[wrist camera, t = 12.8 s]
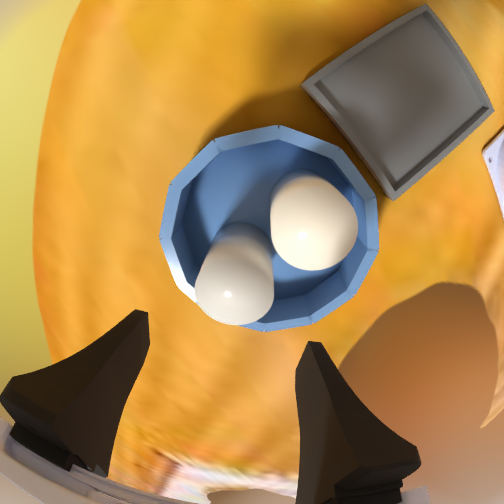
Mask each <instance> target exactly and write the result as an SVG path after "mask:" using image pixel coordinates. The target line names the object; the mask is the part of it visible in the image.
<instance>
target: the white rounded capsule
mask: <svg viewBox="0 0 504 504" xmlns="http://www.w3.org/2000/svg"><path fill="white" fill-rule="evenodd" d="M270 220H271V237H272V242H273V245H274V247H275V249H276V251H277V253H278V254H279V255H280V256H281V258H282V259H283V260H285V261H286V262H287V263H289V264H290V265H292V266H294V267H296V268H299V269H303V270H311V271H312V270H322V269H326V268H329V267H331V266H333V265H335V264H337V263H338V262H340V261H341V260H342V259H344V258H345V257H346V256H347V254H348V253H349V252H350V251H351V249H352V248H353V246H354V244H355V241H356V238H357V234H358V220H357V216H356V213H355V210H354V208H353V207H352V205H351V204H350V202H349V201H348V200H347V199H346V198H345V197H344V196H343V195H342V194H341V193H340V192H339V191H338V190H337V189H336V188H335V187H334V186H333V185H332V184H331V183H330V182H329V181H328V180H327V179H326V178H325V177H323V176H322V175H321V174H319V173H317V172H315V171H313V170H309V169H296V170H292V171H290V172H287V173H286V174H284V175H283V176H281V177H280V178H279V179H278V180H277V181H276V183H275V184H274V186H273V188H272V190H271V194H270Z"/></svg>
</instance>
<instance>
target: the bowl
mask: <svg viewBox="0 0 504 504" xmlns="http://www.w3.org/2000/svg"><path fill="white" fill-rule="evenodd" d="M296 169H309V170H313V171H315V172H317V173H319V174H321V175H322V176H323V177H325V178H326V179H327V180H328V181H329V182H330V183H331V184H332V185H333V186H334V187H335V188H336V189H337V190H338V191H339V192H340V193H341V194H342V195H343V196H344V197H345V198H346V199H347V200H348V201H349V202H350V204H351V205H352V207H353V208H354V210H355V213H356V216H357V220H358V234H357V238H356V241H355V244H354V246H353V248H352V249H351V251H350V252H349V253H348V254H347V256H346V257H345V258H344V259H342V260H341V261H340V262H338V263H337V264H335V265H333V266H331V267H329V268H326V269H322V270H312V271H311V270H303V269H299V268H296V267H294V266H292V265H290V264H289V263H287V262H286V261H285V260H283V259H282V258H281V256H280V255H279V254H278V253H277V251H276V249H275V247H274V245H273V242H272V237H271V220H270V194H271V190H272V188H273V186H274V184H275V183H276V181H277V180H278V179H279V178H280V177H281V176H283V175H284V174H286V173H287V172H290V171H292V170H296ZM170 183H171V184H169V188H168V193H167V198H166V203H165V208H164V213H163V218H162V223H161V229H160V234H159V237H160V239H159V240H160V243H161V245H162V248H163V251H164V254H165V256H166V259H167V262H168V264H169V267H170V269H171V272H172V275H173V277H174V280H175V282H176V285H179V286H178V288H180V289H181V290H182V291H183V292H184V293H185V294H186V295H188V296H189V297H190V298H191V299H192V300H193V301H194V302H196V303H197V304H198V302H197V300H196V297H195V283H196V279H197V277H198V275H199V272H200V270H201V267H202V265H203V262H204V260H205V257H206V255H207V253H208V250H209V248H210V245H211V243H212V241H213V239H214V236H215V235H216V233H217V232H218V231H219V230H220V229H221V228H223V227H225V226H226V225H229V224H232V223H236V222H245V223H250V224H253V225H255V226H257V227H259V228H260V229H261V230H263V231H264V232H265V233H266V235H267V236H268V238H269V239H270V242H271V245H272V257H273V281H274V300H273V303H272V306H271V308H270V309H269V311H268V312H267V313H266V314H265V315H264V316H263V317H262V318H260V319H259V320H257V321H255V322H252V323H249V324H244V325H238V326H242V327H246V328H250V329H254V330H257V331H261V332H263V331H265V332H268V331H275V330H281V329H287V328H293V327H299V326H305V325H311V324H312V322H313V323H316V322H317V321H319V320H320V319H322V318H323V317H325V316H326V315H328V314H329V313H331V312H332V311H334V310H335V309H337V308H338V307H339V306H341V305H342V304H344V303H345V302H347V301H348V300H350V299H351V298H352V297H354V295H356V293H357V291H358V289H359V287H360V286H361V284H362V282H363V280H364V278H365V277H366V275H367V273H368V271H369V269H370V267H371V265H372V263H373V261H374V259H375V258H376V256H377V254H378V252H379V251H378V250H379V232H378V212H377V198H376V197H375V193H374V192H373V191H372V189H371V188H370V186H369V185H368V183H367V182H366V181H365V179H364V178H363V176H362V175H361V174H360V172H359V171H358V169H357V168H356V167H355V165H354V164H353V163H352V161H351V160H350V159H349V157H348V156H347V155H346V154H345V152H344V151H343V150H342V149H341V148H340V147H338V146H336V145H333V144H331V143H328V142H326V141H323V140H321V139H318V138H315V137H313V136H310V135H307V134H305V133H302V132H299V131H296V130H294V129H291V128H288V127H285V126H282V125H272V126H267V127H262V128H257V129H252V130H247V131H243V132H238V133H234V134H230V135H226V136H222V137H218V138H215V139H214V140H212V141H211V142H210V143H209V144H208V145H207V146H206V147H204V148H203V149H202V150H201V151H200V152H199V153H198V154H197V155H196V156H195V157H194V158H193V159H192V160H191V161H190V162H189V164H188V165H187V166H186V167H185V168H184V169H183V170H182V171H181V172H180V173H179V174H178V175H177V176H176V177H175V178H174V179H173V180H172V181H171V182H170ZM353 294H354V295H353ZM198 305H199V304H198Z"/></svg>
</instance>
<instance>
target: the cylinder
mask: <svg viewBox="0 0 504 504" xmlns="http://www.w3.org/2000/svg"><path fill="white" fill-rule="evenodd" d="M195 297H196V300H197V302H198V304H199V306H200V307H201V309H202V310H203V311H204V312H205V313H206V314H207V315H208V316H210V317H211V318H213V319H215V320H217V321H219V322H221V323H225V324H230V325H244V324H249V323H252V322H255V321H257V320H259V319H260V318H262V317H263V316H264V315H265V314H266V313H267V312H268V311H269V309H270V308H271V306H272V303H273V300H274V281H273V257H272V245H271V242H270V239H269V238H268V236H267V235H266V233H265V232H264V231H263V230H261V229H260V228H259V227H257V226H255V225H253V224H250V223H245V222H236V223H232V224H229V225H226V226H225V227H223V228H221V229H220V230H219V231H218V232H217V233H216V235H215V236H214V239H213V241H212V243H211V245H210V248H209V250H208V253H207V255H206V257H205V260H204V262H203V265H202V267H201V270H200V272H199V275H198V277H197V279H196V283H195Z"/></svg>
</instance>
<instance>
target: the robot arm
mask: <svg viewBox="0 0 504 504" xmlns="http://www.w3.org/2000/svg"><path fill="white" fill-rule="evenodd" d="M482 155H483V158H484V161H485V163H486V166H487V168H488V171H489V174H490V177H491V179H492V182H493V185H494V188H495V191H496V194H497V198H498V201H499V204H500V208H501V211H502V215H503V219H504V129H503V130H502V131H501V132H500V133H499V134H498V135H497V136H496V138H495V139H494V140H493V141H492V142H491V143H490V144H489V145H488V146H487V147H486V148H485V149H484V150H483V153H482ZM149 346H150V338H149V322H148V312H144V311H140V310H136V309H135V310H134V311H133V312H131V313H130V314H129V315H128V316H126V317H125V318H124V319H123V320H122V321H120V322H119V323H118V324H117V325H116V326H114V327H113V328H112V329H110V330H109V331H108V332H107V333H105V334H104V335H103V336H101V337H100V338H99V339H97V340H96V341H94V342H93V343H92V344H90V345H89V346H87V347H86V348H84V349H82V350H81V351H79V352H77V353H76V354H74V355H72V356H70V357H68V358H66V359H64V360H62V361H60V362H58V363H56V364H53V365H51V366H48V367H46V368H43V369H40V370H37V371H34V372H31V373H27V374H23V375H18V376H14V377H12V378H11V380H10V381H9V383H8V384H7V386H6V387H5V389H4V390H3V392H2V393H1V395H0V402H1V404H2V406H3V407H4V408H5V410H6V411H7V412H8V413H9V415H10V416H11V417H12V418H13V419H14V420H15V422H16V423H15V424H14V426H12V425H11V424H10V423H9V422H7V421H6V420H5V419H3V418H2V417H0V474H1V475H3V476H4V477H5V478H7V479H8V480H9V481H10V482H12V483H13V484H14V485H16V486H17V487H19V488H20V489H21V490H23V491H24V492H26V493H27V494H29V495H30V496H32V497H33V498H35V499H37V500H38V501H39V502H41V503H43V504H124V503H122V502H119V501H117V500H115V499H112V498H110V497H108V496H111V497H114V498H117V499H119V500H122V501H125V502H128V503H131V504H197V503H191V502H186V501H181V500H176V499H172V498H168V497H164V496H160V495H156V494H152V493H149V492H145V491H142V490H138V489H135V488H132V487H129V486H126V485H123V484H120V483H117V482H115V481H112V480H109V479H107V478H106V477H108V472H109V466H110V460H111V454H112V450H113V445H114V441H115V437H116V433H117V429H118V425H119V422H120V418H121V415H122V412H123V409H124V406H125V403H126V401H127V398H128V396H129V394H130V392H131V389H132V387H133V385H134V383H135V381H136V379H137V377H138V375H139V372H140V370H141V368H142V366H143V364H144V361H145V358H146V355H147V352H148V349H149ZM295 391H296V400H297V409H298V418H299V426H300V464H299V478H298V488H297V496H296V503H295V504H431V502H430V498H429V493H428V489H427V486H426V485H424V486H420V487H417V488H414V489H410V490H407V491H404V492H402V493H401V492H400V488H401V487H403V483H402V479H404V478H405V477H407V476H409V475H410V474H412V473H413V472H415V471H416V470H417V469H418V468H419V467H420V466H421V460H420V456H419V453H418V450H417V447H416V446H414V445H413V444H411V443H409V442H408V441H406V440H405V439H403V438H402V437H400V436H399V435H397V434H396V433H395V432H393V431H392V430H391V429H389V428H388V427H387V426H386V425H385V424H383V423H382V422H381V421H380V420H379V419H378V418H377V417H376V416H375V415H374V414H372V412H370V410H369V409H368V408H367V407H366V406H365V405H364V404H363V403H362V402H361V401H360V400H359V398H358V397H357V396H356V395H355V393H354V392H353V391H352V389H351V388H350V387H349V385H348V384H347V383H346V381H345V380H344V378H343V377H342V375H341V374H340V372H339V371H338V369H337V368H336V366H335V364H334V363H333V361H332V360H331V358H330V356H329V355H328V353H327V351H326V350H325V348H324V346H323V345H322V343H321V342H312V341H308V343H307V345H306V348H305V350H304V352H303V355H302V357H301V359H300V361H299V364H298V366H297V368H296V375H295ZM99 492H101V493H103V494H106V495H108V496H105V495H103V494H101V493H99Z"/></svg>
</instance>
